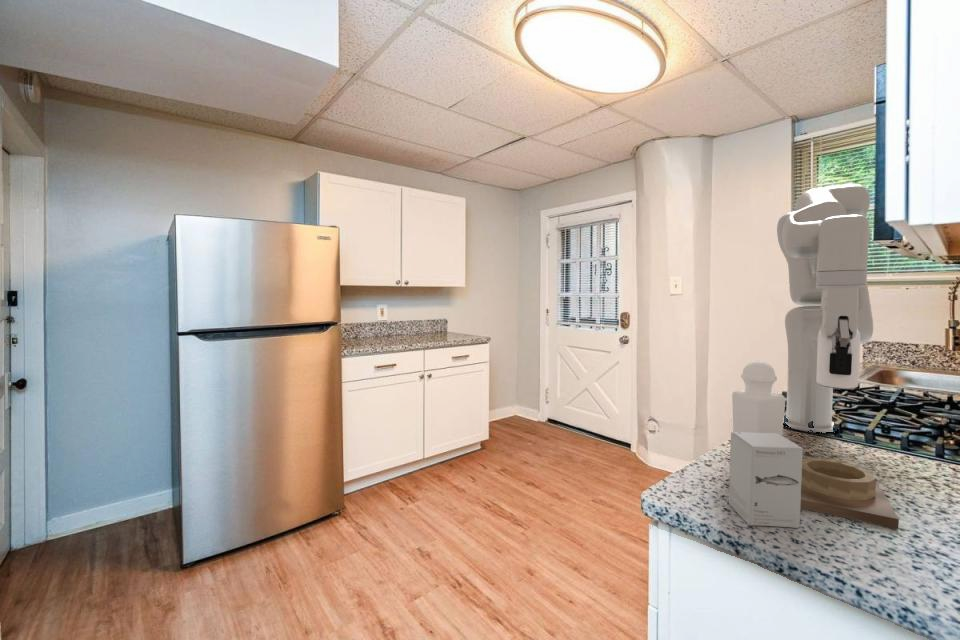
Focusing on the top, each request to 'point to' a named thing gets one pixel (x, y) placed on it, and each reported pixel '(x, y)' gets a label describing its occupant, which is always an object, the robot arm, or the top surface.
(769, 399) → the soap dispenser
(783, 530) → the top surface
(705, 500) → the top surface
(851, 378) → the can
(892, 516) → the mount board
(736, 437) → the supplement box
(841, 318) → the robot arm
